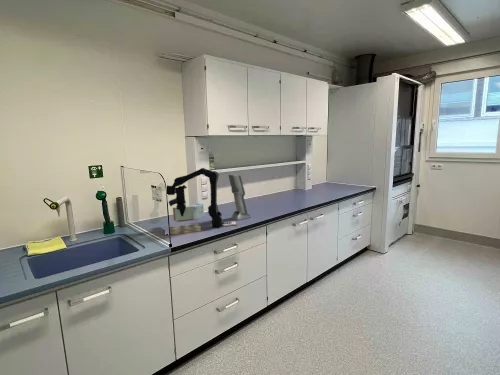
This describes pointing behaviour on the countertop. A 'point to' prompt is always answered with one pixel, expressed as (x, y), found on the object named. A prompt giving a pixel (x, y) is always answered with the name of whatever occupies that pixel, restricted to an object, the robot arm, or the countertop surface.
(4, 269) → the countertop surface
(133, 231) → the countertop surface
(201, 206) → the light bulb box
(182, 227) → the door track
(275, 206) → the countertop surface
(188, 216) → the door panel
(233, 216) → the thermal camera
